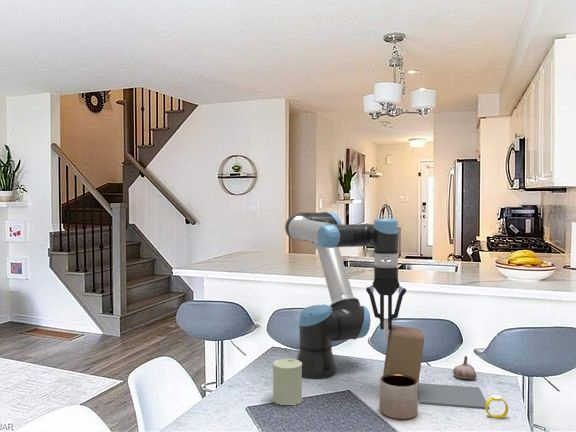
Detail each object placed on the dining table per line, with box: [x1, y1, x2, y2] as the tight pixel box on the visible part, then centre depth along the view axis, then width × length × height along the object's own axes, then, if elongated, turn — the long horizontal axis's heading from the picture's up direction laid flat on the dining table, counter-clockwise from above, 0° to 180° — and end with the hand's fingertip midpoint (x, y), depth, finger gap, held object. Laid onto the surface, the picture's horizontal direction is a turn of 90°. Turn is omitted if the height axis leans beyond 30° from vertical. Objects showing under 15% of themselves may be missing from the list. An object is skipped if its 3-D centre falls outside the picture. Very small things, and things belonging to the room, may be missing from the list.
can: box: [272, 358, 303, 406], centre depth 152 cm, size 9×9×12 cm
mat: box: [418, 382, 490, 410], centre depth 155 cm, size 20×16×1 cm
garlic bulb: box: [452, 355, 477, 380], centre depth 171 cm, size 8×7×8 cm
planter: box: [379, 374, 419, 421], centre depth 143 cm, size 11×11×10 cm
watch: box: [484, 394, 509, 419], centre depth 140 cm, size 6×3×6 cm, turn 84°
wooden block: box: [382, 324, 425, 383], centre depth 157 cm, size 10×10×20 cm
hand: (386, 339), depth 158 cm, fingers closed
